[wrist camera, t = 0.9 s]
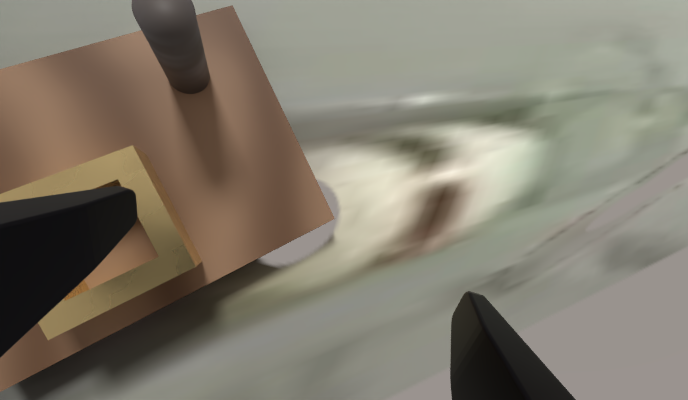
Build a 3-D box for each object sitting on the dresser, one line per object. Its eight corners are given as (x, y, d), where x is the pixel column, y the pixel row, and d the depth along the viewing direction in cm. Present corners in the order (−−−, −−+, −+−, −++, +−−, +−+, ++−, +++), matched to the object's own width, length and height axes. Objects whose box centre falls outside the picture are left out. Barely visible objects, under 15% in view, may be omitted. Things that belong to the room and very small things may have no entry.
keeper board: (20, 377, 17) (-145, 494, 10) (-128, 124, 16) (-437, 44, 9) (328, 218, 22) (370, 217, 15) (233, 20, 21) (227, -85, 14)
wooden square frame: (75, 323, 16) (48, 340, 14) (10, 207, 16) (-30, 204, 14) (201, 260, 18) (196, 266, 16) (146, 154, 18) (132, 145, 15)
